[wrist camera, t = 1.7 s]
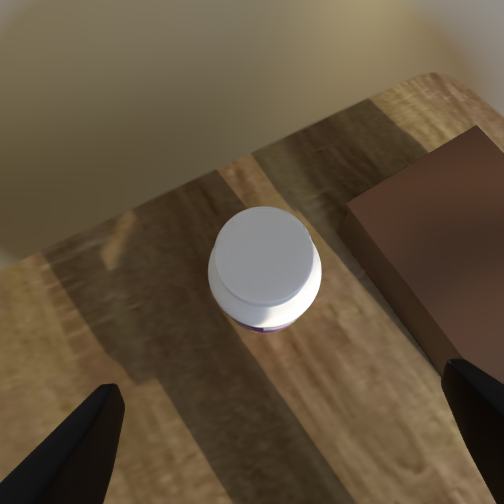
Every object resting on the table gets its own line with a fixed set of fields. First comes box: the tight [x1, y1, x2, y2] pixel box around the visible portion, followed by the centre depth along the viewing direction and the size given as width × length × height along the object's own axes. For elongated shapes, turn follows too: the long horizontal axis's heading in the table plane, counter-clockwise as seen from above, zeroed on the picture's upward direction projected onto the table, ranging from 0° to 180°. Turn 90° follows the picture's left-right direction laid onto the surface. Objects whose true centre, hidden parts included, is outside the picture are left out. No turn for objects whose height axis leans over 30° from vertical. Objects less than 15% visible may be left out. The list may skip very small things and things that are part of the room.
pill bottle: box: [208, 206, 321, 333], centre depth 18 cm, size 5×5×10 cm
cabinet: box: [337, 125, 504, 384], centre depth 20 cm, size 13×10×5 cm
